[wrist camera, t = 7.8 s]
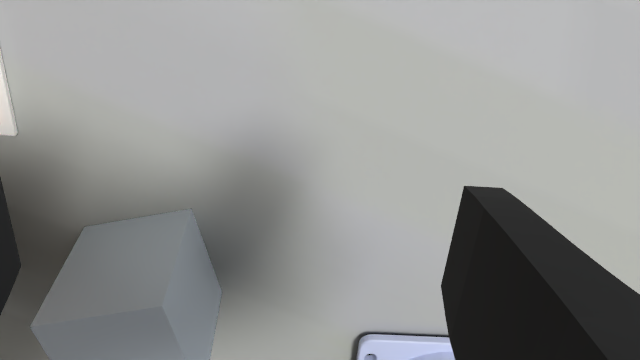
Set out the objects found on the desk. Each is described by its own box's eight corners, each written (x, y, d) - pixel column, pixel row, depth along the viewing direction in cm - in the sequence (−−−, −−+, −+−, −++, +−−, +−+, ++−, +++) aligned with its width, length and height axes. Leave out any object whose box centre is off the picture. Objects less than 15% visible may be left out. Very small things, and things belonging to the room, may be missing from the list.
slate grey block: (222, 291, 23) (202, 397, 19) (124, 306, 24) (83, 415, 20) (191, 207, 21) (162, 306, 17) (84, 226, 22) (29, 326, 17)
